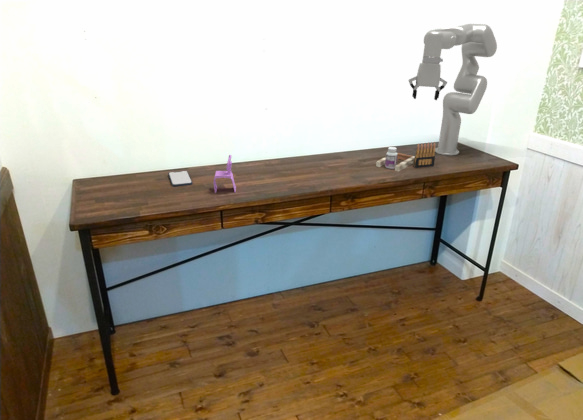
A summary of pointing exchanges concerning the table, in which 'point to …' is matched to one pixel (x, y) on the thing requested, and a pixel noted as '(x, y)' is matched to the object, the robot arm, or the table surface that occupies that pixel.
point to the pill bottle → (391, 158)
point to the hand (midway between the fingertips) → (425, 99)
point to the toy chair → (225, 174)
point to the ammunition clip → (424, 156)
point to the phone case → (180, 178)
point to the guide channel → (400, 166)
